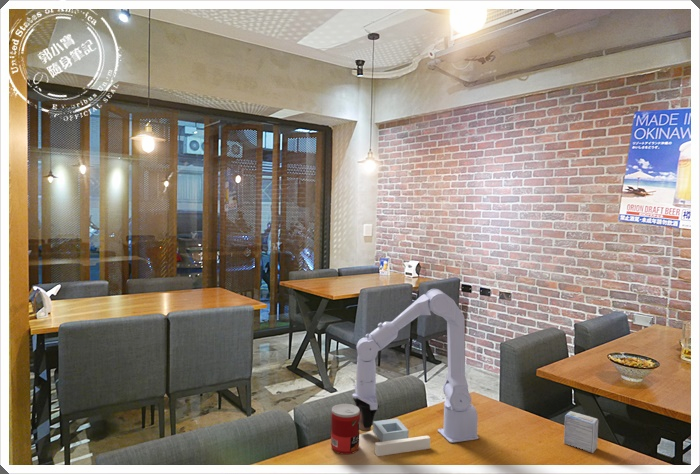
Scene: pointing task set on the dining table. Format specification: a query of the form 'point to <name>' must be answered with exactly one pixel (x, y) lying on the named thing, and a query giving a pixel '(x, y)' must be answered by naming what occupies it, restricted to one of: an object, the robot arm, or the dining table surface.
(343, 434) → the canned food
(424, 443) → the bar
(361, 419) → the dowel
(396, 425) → the block
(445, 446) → the dining table surface
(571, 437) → the medicine box
